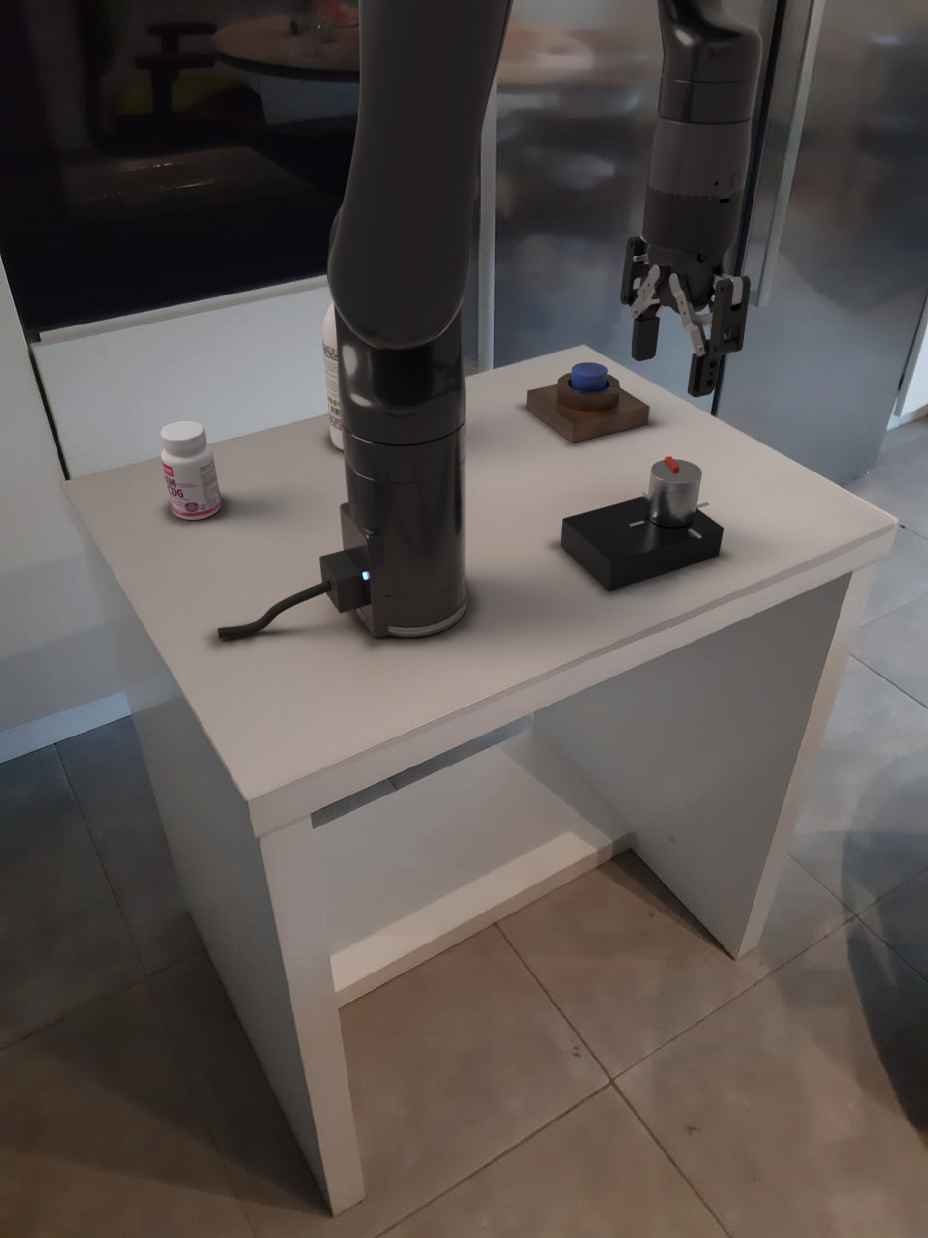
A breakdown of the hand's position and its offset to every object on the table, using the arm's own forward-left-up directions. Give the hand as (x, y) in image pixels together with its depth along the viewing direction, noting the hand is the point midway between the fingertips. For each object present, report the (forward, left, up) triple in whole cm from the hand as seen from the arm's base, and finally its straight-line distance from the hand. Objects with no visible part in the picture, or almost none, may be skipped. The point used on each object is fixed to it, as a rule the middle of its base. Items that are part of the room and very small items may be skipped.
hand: (670, 376), depth 86 cm
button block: (+6, +21, -14) cm, 26 cm away
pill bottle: (-39, +21, -14) cm, 47 cm away
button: (+6, +21, -11) cm, 25 cm away
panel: (-5, -5, -14) cm, 16 cm away
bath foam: (-19, +27, -14) cm, 36 cm away
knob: (-2, -5, -11) cm, 12 cm away
